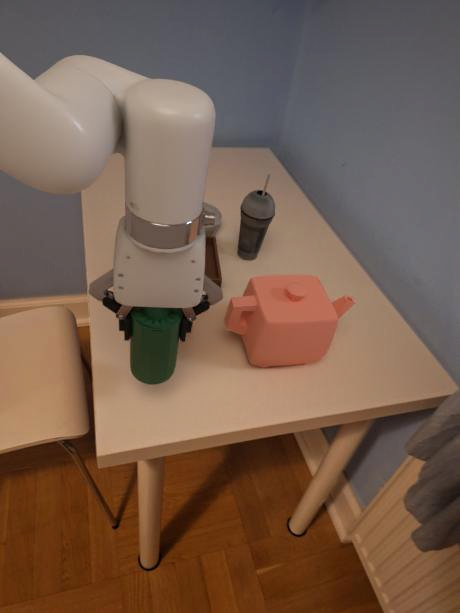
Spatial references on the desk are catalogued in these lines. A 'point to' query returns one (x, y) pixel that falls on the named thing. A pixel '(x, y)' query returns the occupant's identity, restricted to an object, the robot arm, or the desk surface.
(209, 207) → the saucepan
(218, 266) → the tray
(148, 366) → the bottle
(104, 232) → the desk surface
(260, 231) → the beverage cup
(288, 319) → the teapot
